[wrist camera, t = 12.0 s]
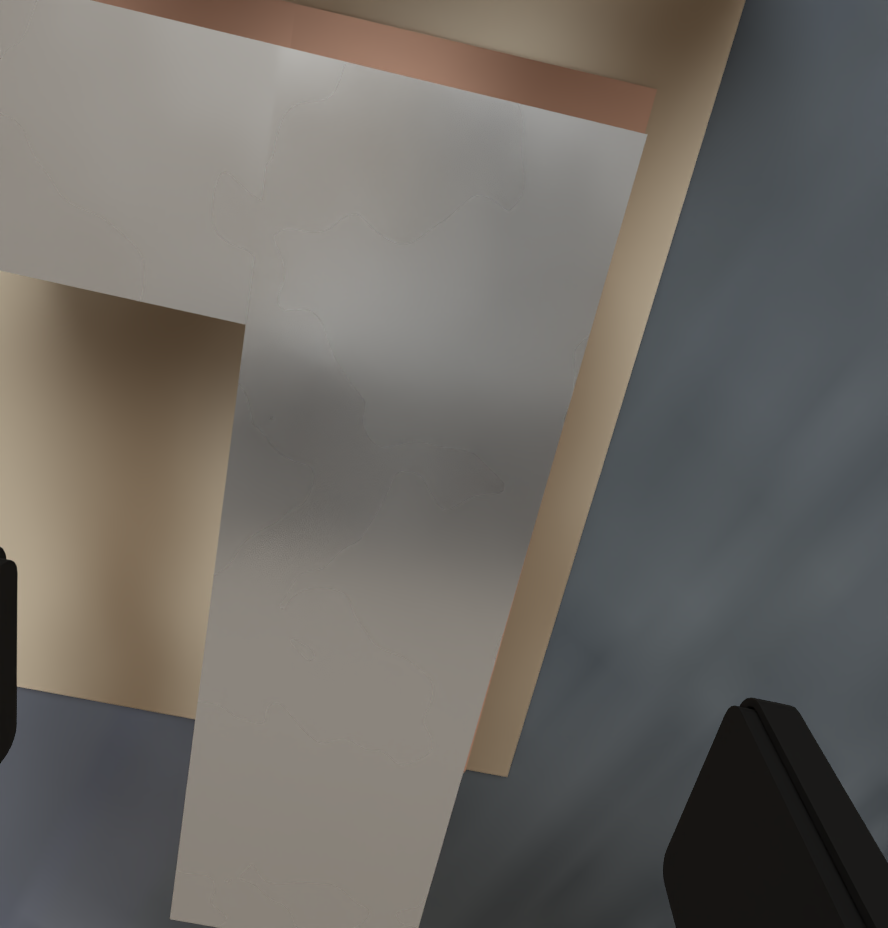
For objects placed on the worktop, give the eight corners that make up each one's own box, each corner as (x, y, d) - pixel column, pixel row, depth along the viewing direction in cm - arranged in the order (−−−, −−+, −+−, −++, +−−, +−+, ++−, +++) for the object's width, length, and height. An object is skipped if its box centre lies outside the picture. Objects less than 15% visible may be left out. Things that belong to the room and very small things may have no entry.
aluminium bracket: (422, 750, 18) (408, 961, 13) (24, 674, 17) (-142, 864, 12) (580, 147, 13) (647, 134, 8) (43, 19, 12) (-206, -72, 8)
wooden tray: (780, -138, 12) (793, -150, 12) (506, 764, 18) (507, 780, 18) (-282, -410, 11) (-315, -435, 11) (-185, 636, 17) (-203, 649, 17)
